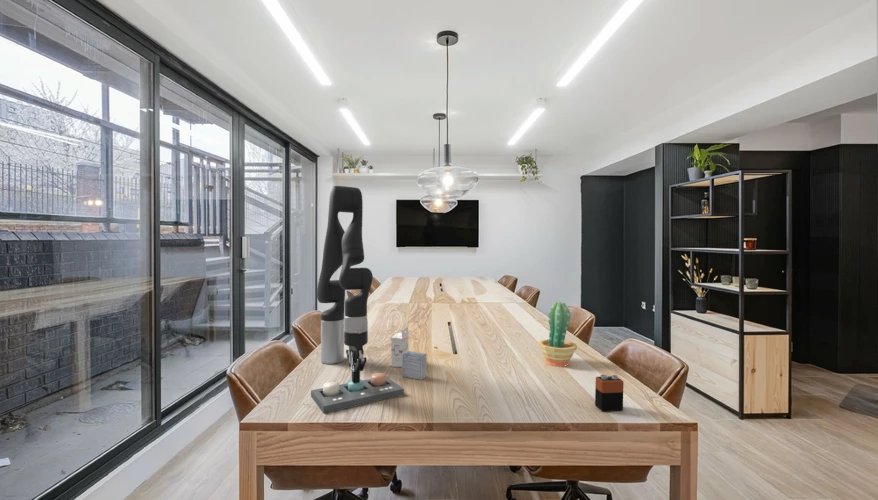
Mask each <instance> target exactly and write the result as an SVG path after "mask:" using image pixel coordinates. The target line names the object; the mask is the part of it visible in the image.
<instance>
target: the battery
mask: <svg viewBox="0 0 878 500" xmlns="http://www.w3.org/2000/svg"><path fill="white" fill-rule="evenodd" d="M594 387H595V390H594V391H595V393H594V396H595V397H594V400H595V401H594V404H595V407H596V408H597V409H598V410H600V411H601V412H622V411H623V410H624V380H622V378H619V376H618V375H616V374H613V375H611V376H610V375H609V376H608V375H607V374H601V375H600V376H596V377H595V386H594Z"/></svg>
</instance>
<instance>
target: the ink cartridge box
mask: <svg viewBox="0 0 878 500" xmlns="http://www.w3.org/2000/svg"><path fill="white" fill-rule="evenodd" d="M390 341H391V344H390V345H391V348H390V349H391V350H390V352H391V356H390V357H391V360H390V361H391V365H390V366H391V367H393V368H403V354H404V353H405V352H407V351H409V327H408V326H406V327H404V328H402V329H401V332H397V333H395V334H394V335H393V336H392V337H391V338H390Z"/></svg>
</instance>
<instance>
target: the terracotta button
mask: <svg viewBox="0 0 878 500" xmlns="http://www.w3.org/2000/svg"><path fill="white" fill-rule="evenodd" d="M386 376H387V375H386V373H382V372H376V373H372V374H371V375H370V379H371V386H372V387H379V386H383V385H386Z"/></svg>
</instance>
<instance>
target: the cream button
mask: <svg viewBox="0 0 878 500" xmlns="http://www.w3.org/2000/svg"><path fill="white" fill-rule="evenodd" d="M340 385H341V383H339V381H328V382H325V383H323V384H322V388H323V396H324V398H326V397H330V396H335V395H339V393H340Z"/></svg>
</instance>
